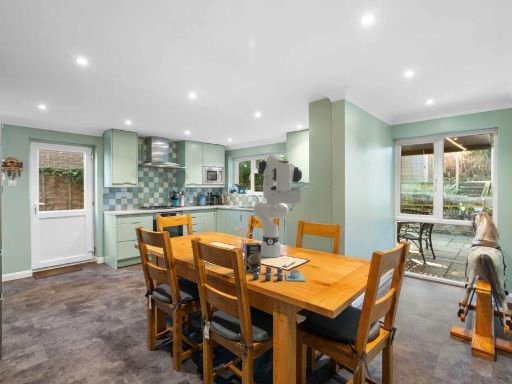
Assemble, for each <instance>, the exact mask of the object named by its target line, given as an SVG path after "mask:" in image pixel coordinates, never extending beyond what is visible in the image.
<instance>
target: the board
mask: <svg viewBox="0 0 512 384" xmlns="http://www.w3.org/2000/svg"><path fill="white" fill-rule="evenodd" d="M285 281H286V282H300V283H301V282H304V283H305V282H306V279H305V276H304V272H302V273H301V272H300V277H299V278H292V277H290V272H285Z"/></svg>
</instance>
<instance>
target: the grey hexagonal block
mask: <svg viewBox="0 0 512 384" xmlns="http://www.w3.org/2000/svg"><path fill="white" fill-rule="evenodd" d="M289 273H290V277H292V278H299V277H300V273H301V272H300V270H299V269H290V271H289Z"/></svg>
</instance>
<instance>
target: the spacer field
mask: <svg viewBox="0 0 512 384" xmlns="http://www.w3.org/2000/svg"><path fill="white" fill-rule="evenodd" d="M252 273H253V274H252V275H253V276H252V279H253V280H254V281H259V280H260V274H261V271H260V267H258V266H256V267H255V272H252ZM271 276H272V266H267V265H266V267H265V274H264V281H266V282H270V281H271V278H272V277H271ZM283 279H284V278H283V267H281V266H280V267H279V266H278V267H277V269H276V280H277V281H278V282H279V281H280V282H282V281H283Z"/></svg>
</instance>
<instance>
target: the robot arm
mask: <svg viewBox="0 0 512 384" xmlns="http://www.w3.org/2000/svg"><path fill="white" fill-rule="evenodd" d="M256 171H257V174H258V175H261V176H264V177H263V181H262V193H263V194H262V196H263V198H264V200H266V202H261V203H256V204H255V205H254V207H253V214H254V215H255V217H256V218H258V219H259V221H260V222H261V224H262V229H263V230H262V232H263V235H262V242H261V243H260V244H261V257H263V258H264V257H265V258H279V257H282V256H284V253H283V252H282V249H281V248H282V247H281V245H282V244H281V243H280V242H279V241H280V237H279V226H278V224H277V223H275V222H274V221H272V220H271V219H277V218H278V219H279V218H285V217H287V216H288V213H289V211H290V212H293V210H294V207H295V204H300V203H301V202H302V201H301V195H302V189H301V188H299V187H292V184H293V183H294V184H298V183H299V182H300V181H301V180H302V177H303V174H302V173H303V172H302V169H300V167H298V166H295V165H293V164H292V162H290V161H289V160H285V159H283V158H282V157H281V156H279V155H278V154H276V153H271V154H269V155H268V157H267V159H266V160H265V159H263V160H262V161H259V162H258V163H257V166H256ZM287 204H291V205H292V206H291V207H290V208H289V207H288V205H287Z"/></svg>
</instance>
